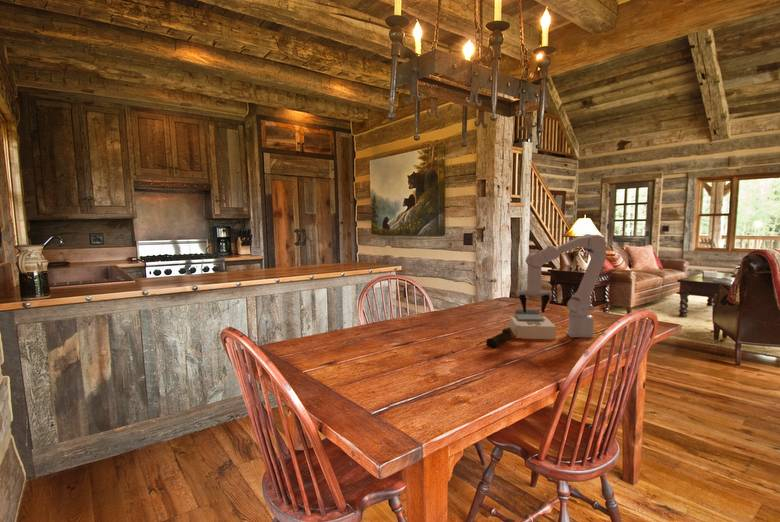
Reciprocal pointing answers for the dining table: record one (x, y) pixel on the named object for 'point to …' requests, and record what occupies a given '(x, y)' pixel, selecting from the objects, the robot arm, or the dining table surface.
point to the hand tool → (499, 338)
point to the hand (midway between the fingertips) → (533, 312)
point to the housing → (532, 329)
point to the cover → (529, 315)
